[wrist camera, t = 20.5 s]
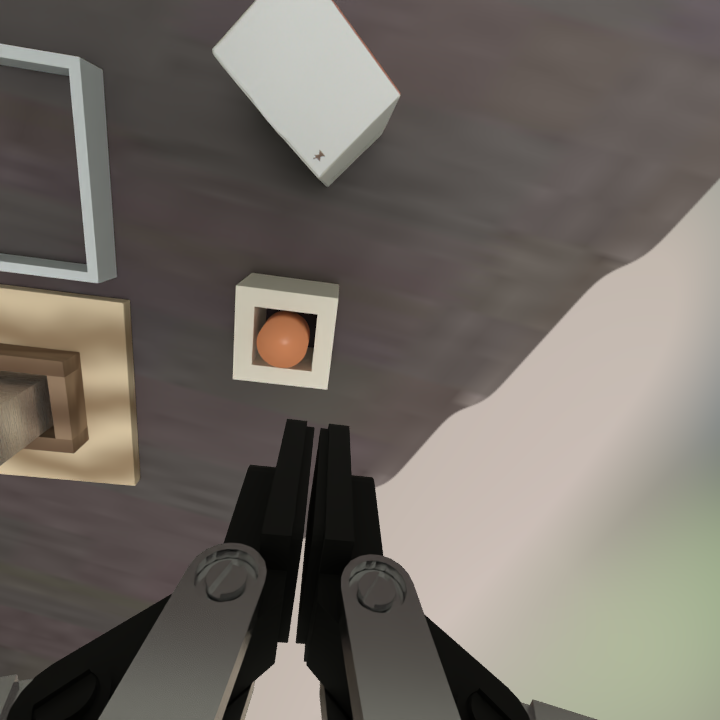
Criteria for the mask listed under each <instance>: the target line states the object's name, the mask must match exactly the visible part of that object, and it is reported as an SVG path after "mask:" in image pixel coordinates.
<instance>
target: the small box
mask: <svg viewBox="0 0 720 720" xmlns="http://www.w3.org/2000/svg"><path fill="white" fill-rule="evenodd" d="M212 52H213V55H214V56H215V58H216V59H217V60H218V62H219V63H220V64H221V65H222V66H223V68H224V69H225V70H226V71H227V73H228V74H229V75H230V76H231V77H232V79H233V80H234V81H235V82H236V83H237V85H238V86H239V87H240V88H241V89H242V91H243V92H244V93H245V94H246V96H247V97H248V98H249V99H250V100H251V102H252V103H253V104H254V105H255V106H256V108H257V109H258V110H259V111H260V113H261V114H262V115H263V116H264V117H265V119H266V120H267V121H268V122H269V123H270V125H271V126H272V127H273V128H274V129H275V131H276V132H277V133H278V134H279V135H280V136H281V137H282V138H283V139H284V140H285V141H286V143H287V144H288V145H289V146H290V147H291V148H292V149H293V151H294V152H295V153H296V154H297V155H298V156H299V158H300V159H301V160H302V161H303V162H304V163H305V164H306V166H307V167H308V168H309V169H310V170H311V171H312V172H313V173H314V175H315V176H316V177H317V178H318V179H319V180H320V181H321V182H322V183H323V184H324V185H325V186H326V187H329V186H330V185H331V184H332V183H333V182H334V181H335V180H336V179H337V178H338V177H339V176H340V175H341V174H342V173H343V172H344V171H345V170H346V169H347V168H348V167H349V166H350V165H351V164H352V163H353V162H354V161H355V160H356V159H357V158H358V157H359V156H360V155H361V154H362V153H363V152H364V151H365V150H366V149H367V148H369V147H370V146H371V145H372V144H373V143H374V142H375V141H376V140H377V139H378V138H379V137H380V136H381V135H382V133H383V131H384V129H385V127H386V125H387V123H388V121H389V119H390V117H391V115H392V113H393V110H394V108H395V106H396V104H397V102H398V100H399V97H400V92H399V90H398V89H397V88H396V86H395V85H394V83H393V82H392V81H391V79H390V78H389V76H388V75H387V74H386V72H385V71H384V69H383V68H382V67H381V65H380V64H379V63H378V61H377V60H376V58H375V57H374V56H373V54H372V53H371V52H370V50H369V49H368V48H367V46H366V45H365V43H364V42H363V41H362V39H361V38H360V37H359V35H358V34H357V32H356V31H355V30H354V28H353V27H352V26H351V24H350V23H349V21H348V20H347V19H346V17H345V16H344V14H343V13H342V12H341V10H340V9H339V8H338V6H337V5H336V4H335V2H334V1H333V0H255V1H254V3H253V4H252V5H251V6H250V7H249V8H248V9H247V11H246V12H245V13H244V14H243V15H242V16H241V17H240V18H239V20H238V21H237V22H236V23H235V24H234V25H233V26H232V27H231V29H230V30H229V31H228V32H227V33H226V34H225V35H224V37H223V38H222V39H221V40H220V41H219V42H218V43H217V44H216V45H215V47H214V48H213V49H212Z"/></svg>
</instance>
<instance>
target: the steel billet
mask: <svg viewBox="0 0 720 720" xmlns="http://www.w3.org/2000/svg"><path fill="white" fill-rule="evenodd" d="M53 425H54V424H53V417H52V410H51V402H50V395H49V388H48V381H47V376H46V375H37V374H28V373H19V372H9V371H0V466H1V465H2V464H3V463H5V462H6V461H7V460H9V459H10V458H11V457H13V456H14V455H15V454H16V453H18V452H19V451H20V450H22V449H23V448H24V447H26V446H27V445H28V444H29V443H31V442H32V441H33V440H35V439H36V438H37V437H39V436H40V435H41V434H43V433H44V432H45V431H46V430H48V429H49V428H50V427H52V426H53Z"/></svg>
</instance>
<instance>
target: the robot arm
mask: <svg viewBox="0 0 720 720" xmlns="http://www.w3.org/2000/svg"><path fill="white" fill-rule="evenodd" d="M313 437H314V427H307V421H301V420H292V419H287V422H286V426H285V431H284V435H283V439H282V444H281V448H280V453H279V457H278V461H277V466H276V467H267V466H257V465H250V466H249V468H248V470H247V473H246V476H245V480H244V483H243V486H242V489H241V492H240V495H239V498H238V501H237V504H236V507H235V510H234V513H233V516H232V519H231V522H230V525H229V529H228V532H227V535H226V538H225V541H224V544H218V545H216V546H213V547H211V548H208V549H206V550H205V551H203V552H202V553H201V554H199V555H198V556H196V558H195V559H194V560H193V561H192V563H191V564H190V565H189V567H188V568H187V570H186V572H185V573H184V575H183V577H182V578H181V580H180V582H179V584H178V585H177V587H176V589H175V590H174V592H173V593H172V594H171V595H169V596H167V597H166V598H164V599H162V600H161V601H159V602H157V603H155V604H154V605H152V606H150V607H149V608H147V609H145V610H144V611H142V612H140V613H139V614H137V615H135V616H133V617H132V618H130V619H128V620H127V621H125V622H123V623H122V624H120V625H118V626H117V627H115V628H113V629H111V630H110V631H108V632H106V633H105V634H103V635H101V636H100V637H98V638H96V639H95V640H93V641H91V642H89V643H88V644H86V645H84V646H83V647H81V648H79V649H78V650H76V651H74V652H73V653H71V654H69V655H67V656H66V657H64V658H62V659H61V660H59V661H57V662H56V663H54V664H52V665H51V666H50V667H48V668H47V669H45V670H44V671H43V672H41V673H40V674H39V675H37V676H36V677H35V678H34V679H29V680H23V681H18V678H17V675H11V676H6V677H0V720H244V719H245V716H246V713H247V710H248V706H249V703H250V700H251V696H252V693H253V690H254V683H255V680H256V679H257V678H258V677H259V676H260V675H262V674H263V673H264V672H265V671H266V670H267V669H269V668H270V666H272V665H273V664H274V663H275V657H276V649H277V642H284V643H287V642H288V638H289V631H290V624H291V617H292V610H293V603H294V597H295V589H296V583H297V576H298V569H299V562H300V555H301V548H302V541H303V533H304V524H305V515H306V505H307V495H308V485H309V476H310V466H311V456H312V447H313ZM296 643H301V644H305V654H304V661H305V662H307V666H308V667H309V669H310V670H311V671H312V672H313V674H314V675H315V676H316V677H317V678H318V680H319V681H320V705H321V715H322V720H597V719H594V718H590V717H587V716H584V715H581V714H577V713H574V712H571V711H568V710H565V709H562V708H558V707H555V706H552V705H549V704H546V703H542V702H539V701H536V700H532V702H531V704H530V705H528V704H524V703H521V702H520V701H519V699H518V698H517V697H516V696H515V695H514V694H513V693H512V692H511V691H510V690H509V688H508V687H506V686H505V685H504V684H503V683H502V682H501V681H500V680H499V679H497V678H496V677H495V676H494V675H493V674H492V673H491V672H489V671H488V670H487V669H486V668H485V667H484V666H482V665H481V664H480V663H479V662H478V661H477V660H476V659H474V658H473V657H472V656H471V655H470V654H469V653H468V652H467V651H465V650H464V649H463V648H462V647H461V646H460V645H459V644H457V643H456V642H455V641H454V640H453V639H452V638H451V637H449V636H448V635H447V634H446V633H445V632H444V631H443V630H442V629H440V628H439V627H438V626H437V625H436V624H435V623H434V622H432V621H431V620H430V619H429V618H428V617H426V616H425V615H424V613H423V610H422V607H421V604H420V602H419V598H418V596H417V593H416V590H415V587H414V584H413V582H412V580H411V578H410V576H409V574H408V573H407V572H406V571H405V569H404V568H403V567H402V566H401V565H400V564H398V563H396V562H395V561H393V560H392V559H389V558H387V557H384V556H383V550H382V542H381V534H380V525H379V517H378V509H377V500H376V492H375V484H374V479H373V478H372V477H363V476H353V475H351V455H350V432H349V426H344V425H335V424H329V427H328V429H323V428H321V430H320V436H319V443H318V450H317V456H316V463H315V470H314V477H313V484H312V490H311V497H310V504H309V511H308V520H307V530H306V541H305V551H304V562H303V573H302V583H301V593H300V603H299V614H298V626H297V636H296Z"/></svg>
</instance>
